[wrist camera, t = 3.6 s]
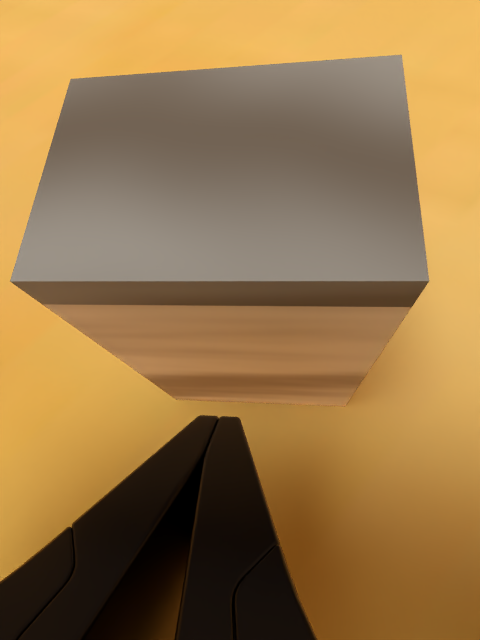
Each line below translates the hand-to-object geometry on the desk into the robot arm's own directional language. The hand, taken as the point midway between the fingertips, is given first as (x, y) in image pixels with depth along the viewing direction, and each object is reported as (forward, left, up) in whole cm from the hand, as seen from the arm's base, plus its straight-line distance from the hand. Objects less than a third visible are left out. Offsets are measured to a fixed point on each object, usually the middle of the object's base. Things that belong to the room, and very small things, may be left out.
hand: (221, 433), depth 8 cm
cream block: (+3, -3, -8) cm, 9 cm away
